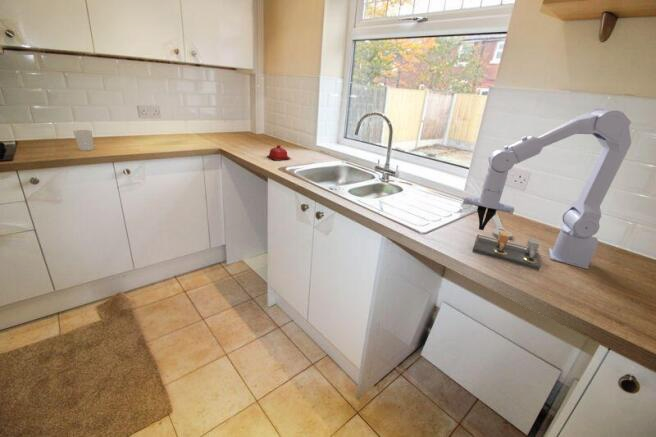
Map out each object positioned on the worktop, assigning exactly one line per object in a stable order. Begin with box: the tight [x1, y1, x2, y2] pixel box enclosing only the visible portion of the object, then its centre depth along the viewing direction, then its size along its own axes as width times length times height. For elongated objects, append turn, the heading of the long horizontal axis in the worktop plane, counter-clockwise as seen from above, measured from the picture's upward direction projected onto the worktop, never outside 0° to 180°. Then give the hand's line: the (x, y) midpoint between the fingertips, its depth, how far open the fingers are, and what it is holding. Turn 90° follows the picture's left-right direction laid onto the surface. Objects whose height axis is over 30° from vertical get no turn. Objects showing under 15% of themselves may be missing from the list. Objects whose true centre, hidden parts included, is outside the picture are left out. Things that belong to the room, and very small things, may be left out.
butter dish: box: [266, 144, 292, 161], centre depth 190 cm, size 12×12×8 cm
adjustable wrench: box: [490, 212, 513, 241], centre depth 119 cm, size 25×6×2 cm, turn 157°
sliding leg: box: [497, 230, 510, 251], centre depth 99 cm, size 2×8×4 cm, turn 150°
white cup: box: [73, 129, 95, 152], centre depth 174 cm, size 8×8×10 cm
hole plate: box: [472, 234, 541, 271], centre depth 98 cm, size 18×12×5 cm, turn 60°
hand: (481, 228), depth 103 cm, fingers closed
